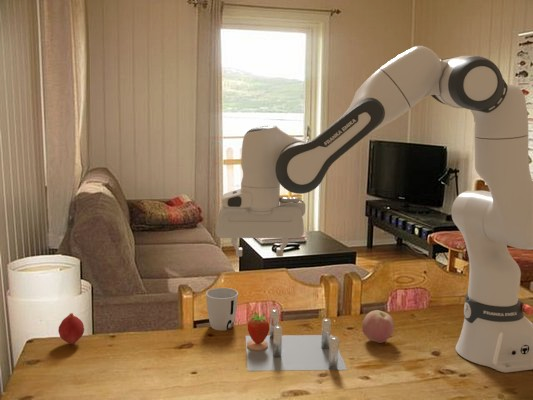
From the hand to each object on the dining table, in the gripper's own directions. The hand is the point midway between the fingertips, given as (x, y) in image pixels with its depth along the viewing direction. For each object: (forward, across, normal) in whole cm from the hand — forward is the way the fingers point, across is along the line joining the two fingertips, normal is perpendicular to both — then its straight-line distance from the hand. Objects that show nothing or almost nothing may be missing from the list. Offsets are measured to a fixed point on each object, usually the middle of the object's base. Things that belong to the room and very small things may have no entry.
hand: (259, 255), depth 129 cm
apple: (+24, -30, -4) cm, 39 cm away
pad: (+22, 0, 0) cm, 22 cm away
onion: (+23, +45, -4) cm, 51 cm away
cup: (+24, +9, -12) cm, 28 cm away
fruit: (+22, 0, 0) cm, 22 cm away
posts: (+23, -10, +3) cm, 25 cm away
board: (+24, -8, +3) cm, 25 cm away
